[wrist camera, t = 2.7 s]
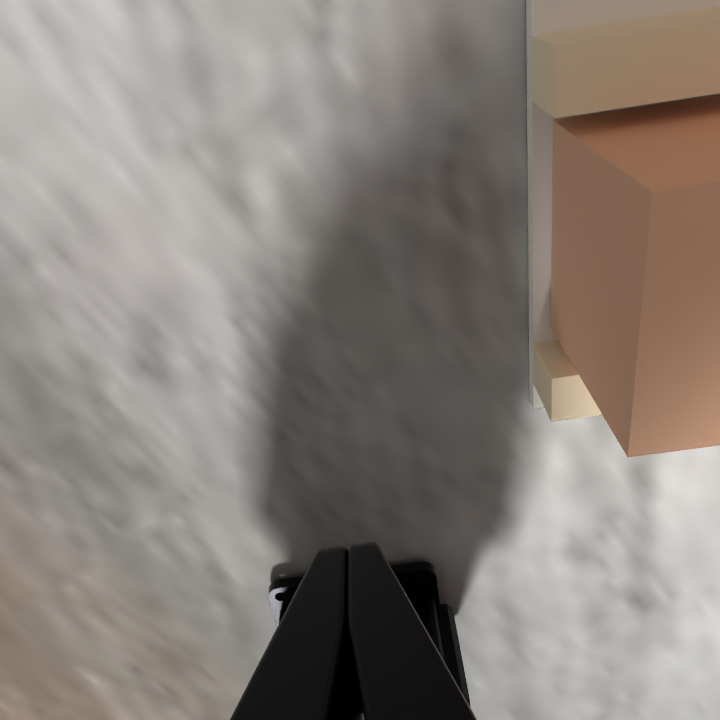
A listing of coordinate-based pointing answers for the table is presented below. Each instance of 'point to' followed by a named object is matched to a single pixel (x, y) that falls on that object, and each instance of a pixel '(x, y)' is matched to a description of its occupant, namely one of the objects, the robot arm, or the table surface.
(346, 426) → the table surface
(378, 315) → the table surface
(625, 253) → the block
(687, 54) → the beige railed tray
